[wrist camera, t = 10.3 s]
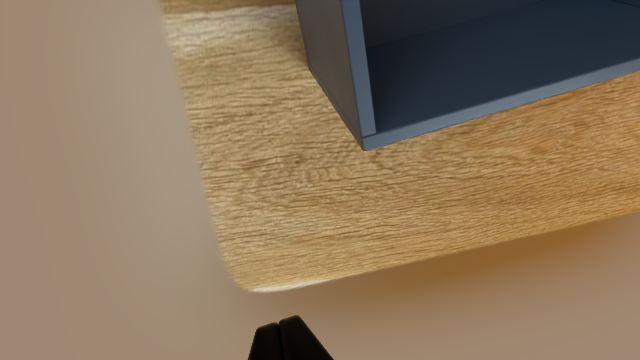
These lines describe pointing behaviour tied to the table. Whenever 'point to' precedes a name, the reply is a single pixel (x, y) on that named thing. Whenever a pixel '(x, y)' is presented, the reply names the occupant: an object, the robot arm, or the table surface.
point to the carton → (459, 57)
